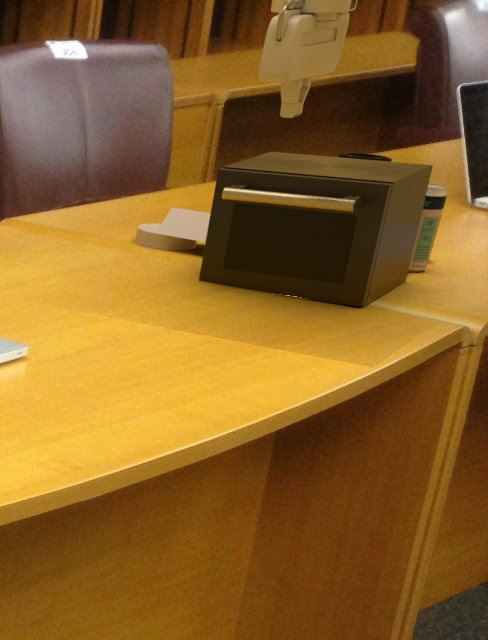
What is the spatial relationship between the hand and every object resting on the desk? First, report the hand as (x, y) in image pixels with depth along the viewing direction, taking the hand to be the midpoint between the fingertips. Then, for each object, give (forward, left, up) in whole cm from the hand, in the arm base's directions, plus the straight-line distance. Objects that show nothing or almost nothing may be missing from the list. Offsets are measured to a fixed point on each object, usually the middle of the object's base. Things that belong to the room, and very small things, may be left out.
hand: (290, 116), depth 192 cm
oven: (0, -22, -24) cm, 33 cm away
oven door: (0, -8, -24) cm, 26 cm away
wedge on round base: (+22, -31, -24) cm, 45 cm away
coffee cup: (+2, -46, -24) cm, 52 cm away
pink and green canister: (-9, -41, -24) cm, 48 cm away
